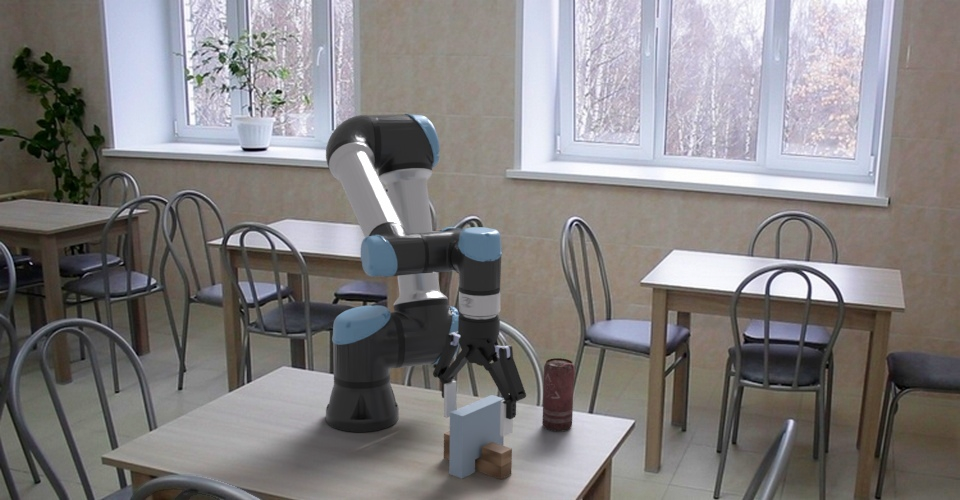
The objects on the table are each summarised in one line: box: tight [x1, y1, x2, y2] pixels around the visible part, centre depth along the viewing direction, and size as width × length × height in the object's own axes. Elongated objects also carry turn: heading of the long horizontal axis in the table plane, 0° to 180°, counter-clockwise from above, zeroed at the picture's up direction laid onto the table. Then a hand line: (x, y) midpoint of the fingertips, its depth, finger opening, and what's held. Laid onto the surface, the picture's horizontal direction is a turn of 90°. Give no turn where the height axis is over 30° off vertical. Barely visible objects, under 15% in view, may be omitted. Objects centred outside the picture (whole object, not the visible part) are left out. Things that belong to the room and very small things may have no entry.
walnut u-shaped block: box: [443, 430, 513, 480], centre depth 183 cm, size 14×3×5 cm, turn 50°
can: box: [542, 357, 576, 432], centre depth 201 cm, size 6×6×14 cm
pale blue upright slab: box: [448, 394, 505, 479], centre depth 182 cm, size 3×12×12 cm, turn 140°
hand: (477, 424), depth 182 cm, fingers open, 13 cm apart
